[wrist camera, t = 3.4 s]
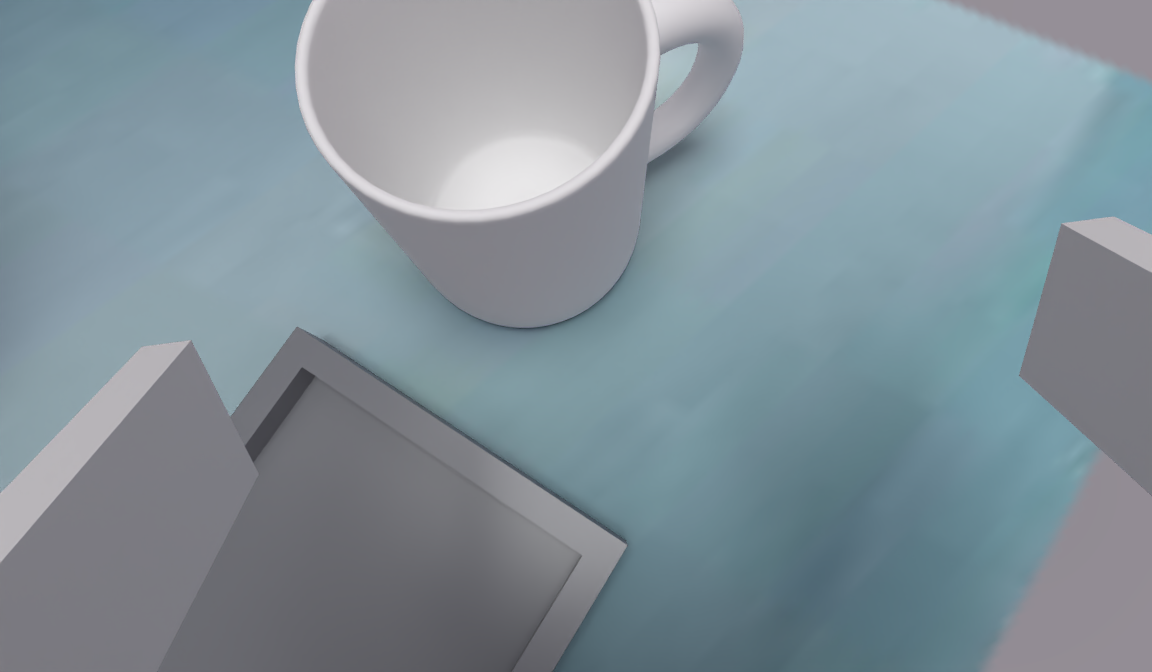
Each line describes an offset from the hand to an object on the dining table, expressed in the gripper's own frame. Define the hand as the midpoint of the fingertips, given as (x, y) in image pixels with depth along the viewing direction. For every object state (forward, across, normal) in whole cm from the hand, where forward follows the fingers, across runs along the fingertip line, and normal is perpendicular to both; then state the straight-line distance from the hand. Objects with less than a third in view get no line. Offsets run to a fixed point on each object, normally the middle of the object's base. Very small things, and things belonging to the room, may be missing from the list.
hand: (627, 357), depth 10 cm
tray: (+5, -11, -13) cm, 18 cm away
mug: (+15, 0, -3) cm, 16 cm away
